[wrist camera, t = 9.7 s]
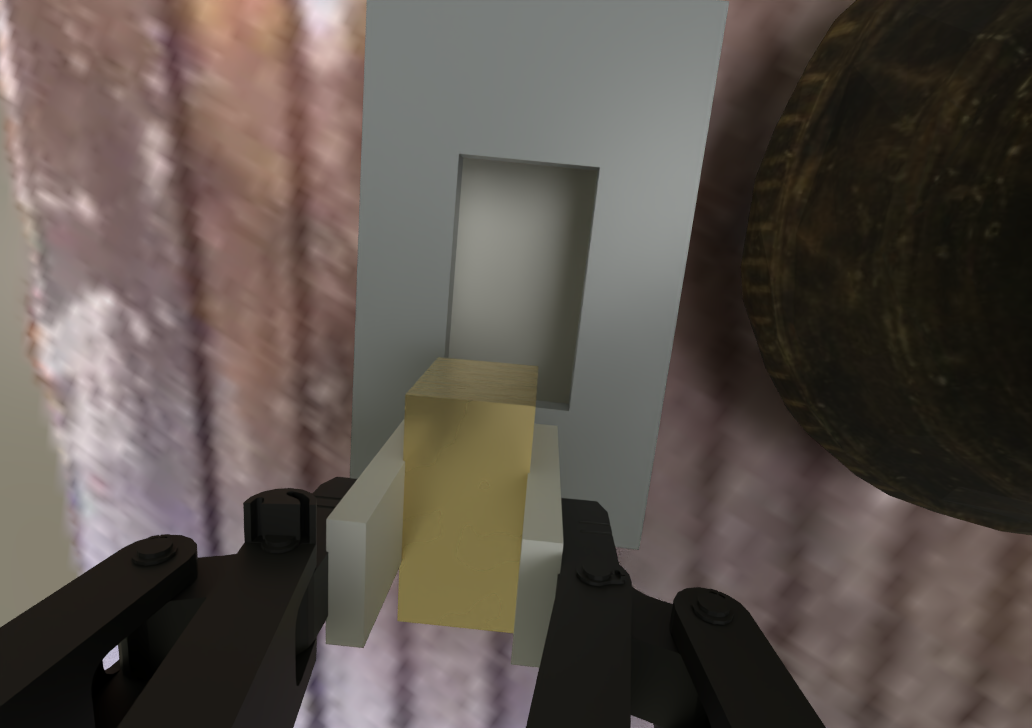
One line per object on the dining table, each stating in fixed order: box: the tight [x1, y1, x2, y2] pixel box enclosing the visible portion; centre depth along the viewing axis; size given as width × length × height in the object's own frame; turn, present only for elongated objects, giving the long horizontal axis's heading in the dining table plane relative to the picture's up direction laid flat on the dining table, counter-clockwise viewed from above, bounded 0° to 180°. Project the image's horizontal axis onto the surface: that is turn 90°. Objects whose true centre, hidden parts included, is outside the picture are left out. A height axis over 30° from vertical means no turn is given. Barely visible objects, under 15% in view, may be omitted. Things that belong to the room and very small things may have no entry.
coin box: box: [350, 0, 729, 550], centre depth 26 cm, size 20×12×10 cm, turn 174°
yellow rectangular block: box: [398, 357, 538, 633], centre depth 15 cm, size 6×3×4 cm, turn 176°
